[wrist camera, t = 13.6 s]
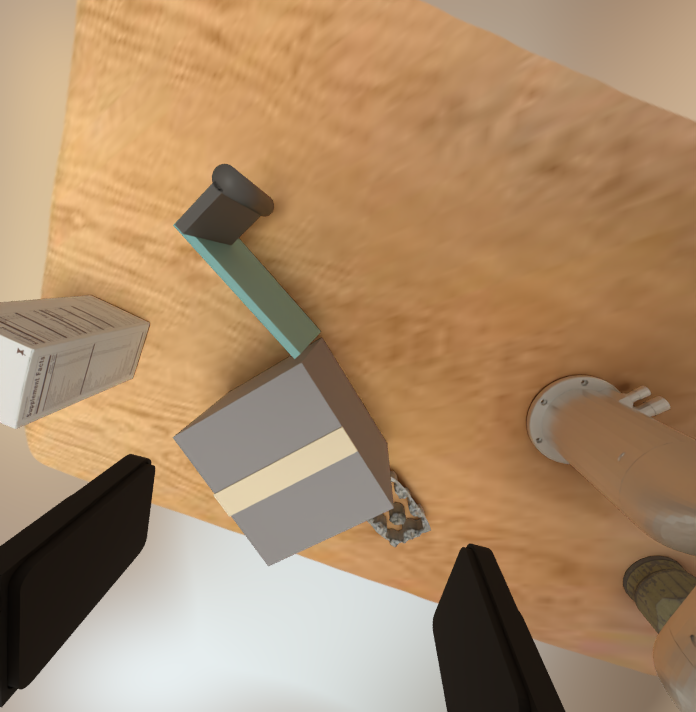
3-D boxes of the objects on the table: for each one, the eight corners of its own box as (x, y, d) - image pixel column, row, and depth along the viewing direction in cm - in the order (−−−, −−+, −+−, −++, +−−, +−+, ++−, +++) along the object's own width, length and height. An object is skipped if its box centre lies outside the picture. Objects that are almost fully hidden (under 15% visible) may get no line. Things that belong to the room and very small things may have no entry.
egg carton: (350, 484, 51) (348, 502, 47) (392, 460, 49) (394, 476, 45) (388, 536, 52) (390, 557, 48) (430, 514, 51) (435, 534, 47)
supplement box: (90, 293, 46) (-64, 301, 30) (152, 321, 47) (34, 345, 30) (74, 353, 48) (-77, 392, 32) (133, 380, 49) (13, 432, 32)
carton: (322, 337, 45) (301, 362, 32) (387, 443, 48) (394, 509, 35) (228, 392, 48) (171, 438, 34) (295, 489, 51) (267, 568, 37)
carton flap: (359, 298, 43) (354, 308, 28) (316, 335, 45) (289, 364, 30) (275, 198, 41) (221, 153, 26) (233, 241, 43) (159, 221, 28)
